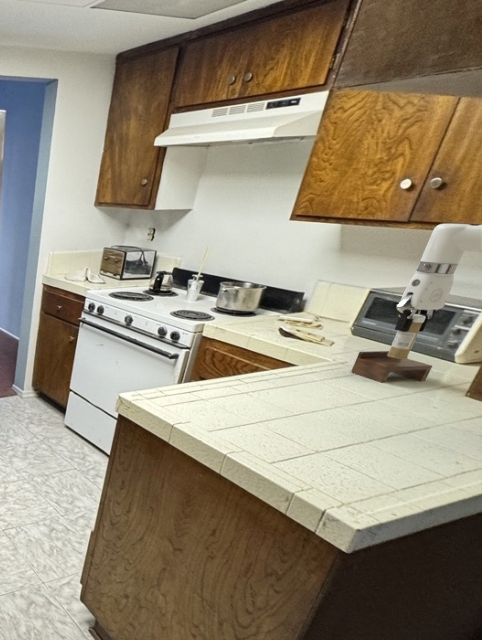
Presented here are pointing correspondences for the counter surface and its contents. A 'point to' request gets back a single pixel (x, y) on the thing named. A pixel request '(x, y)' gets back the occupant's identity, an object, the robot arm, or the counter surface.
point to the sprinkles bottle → (406, 339)
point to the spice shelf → (388, 366)
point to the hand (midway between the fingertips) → (408, 330)
